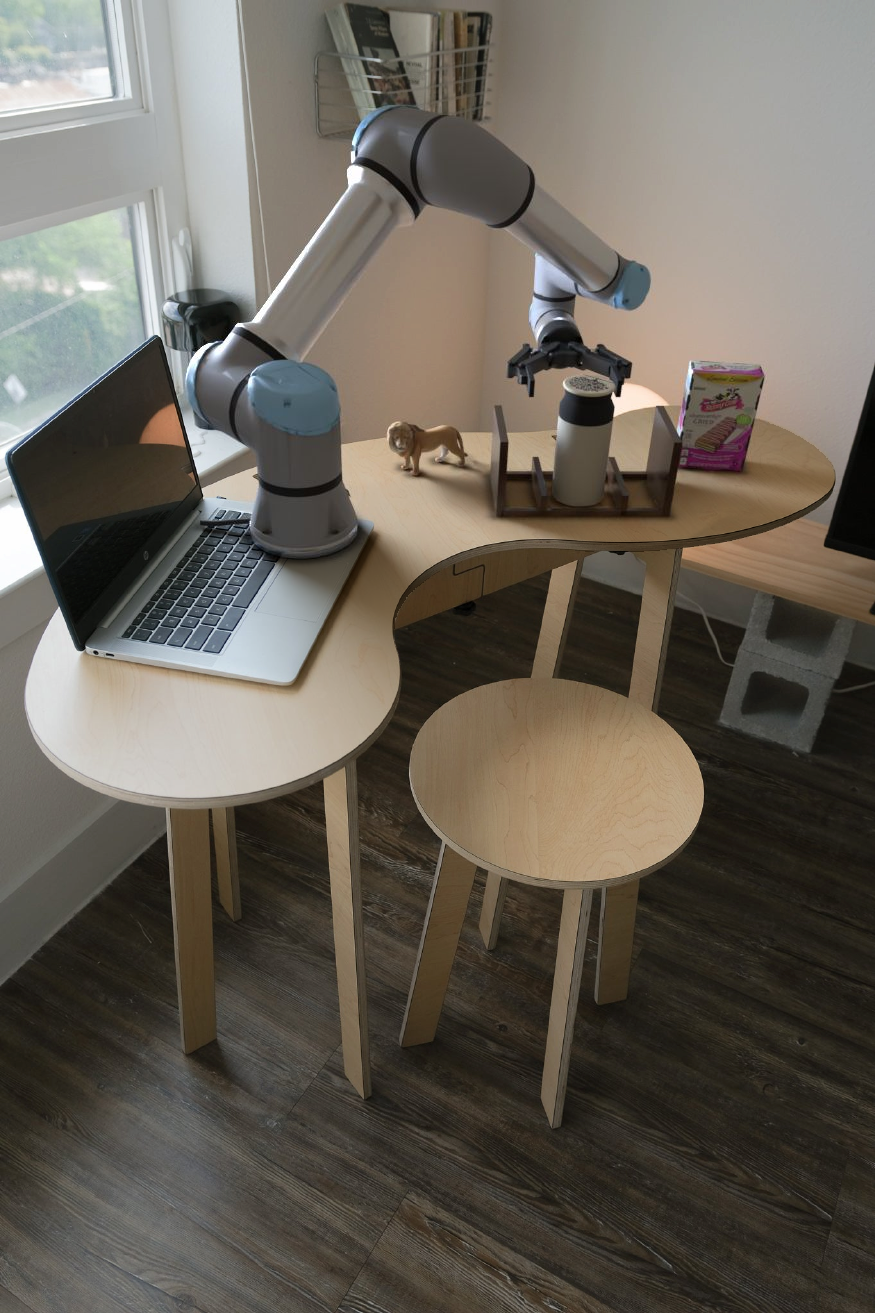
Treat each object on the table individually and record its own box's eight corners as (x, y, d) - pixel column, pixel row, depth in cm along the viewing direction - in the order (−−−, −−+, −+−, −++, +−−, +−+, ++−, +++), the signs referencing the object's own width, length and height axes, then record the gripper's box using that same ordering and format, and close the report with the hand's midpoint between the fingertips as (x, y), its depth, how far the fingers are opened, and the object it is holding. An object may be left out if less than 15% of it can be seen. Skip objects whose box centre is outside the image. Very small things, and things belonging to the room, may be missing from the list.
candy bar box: (674, 469, 162) (691, 370, 152) (671, 455, 166) (688, 359, 156) (744, 473, 161) (766, 374, 151) (740, 459, 165) (761, 362, 155)
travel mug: (579, 513, 150) (592, 399, 139) (540, 494, 154) (550, 382, 143) (613, 497, 154) (628, 384, 143) (574, 479, 159) (586, 369, 148)
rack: (496, 516, 149) (500, 441, 141) (490, 476, 159) (493, 404, 152) (669, 516, 149) (682, 442, 142) (652, 476, 160) (663, 405, 152)
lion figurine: (396, 485, 156) (396, 431, 151) (380, 471, 160) (379, 418, 154) (475, 464, 162) (478, 411, 157) (458, 451, 166) (459, 400, 161)
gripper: (628, 361, 175) (652, 411, 158) (485, 361, 174) (494, 411, 157) (633, 318, 170) (659, 365, 153) (487, 318, 169) (496, 365, 153)
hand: (575, 389), depth 155 cm, fingers open, 13 cm apart
